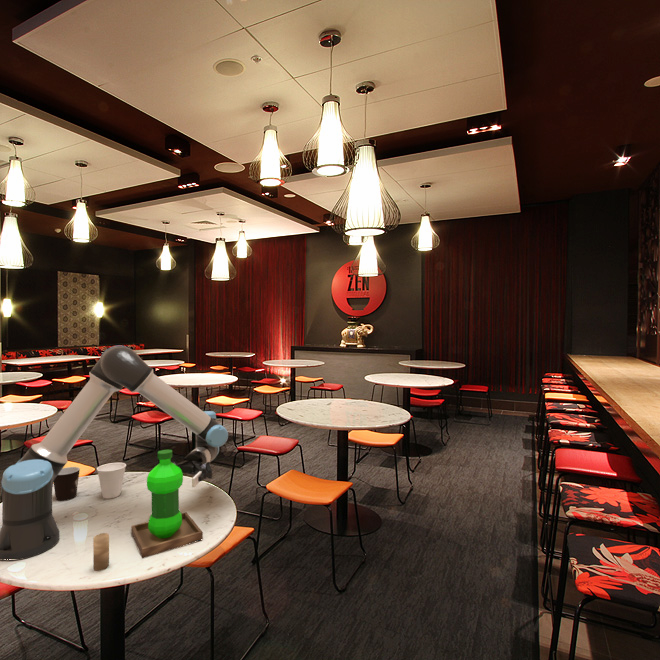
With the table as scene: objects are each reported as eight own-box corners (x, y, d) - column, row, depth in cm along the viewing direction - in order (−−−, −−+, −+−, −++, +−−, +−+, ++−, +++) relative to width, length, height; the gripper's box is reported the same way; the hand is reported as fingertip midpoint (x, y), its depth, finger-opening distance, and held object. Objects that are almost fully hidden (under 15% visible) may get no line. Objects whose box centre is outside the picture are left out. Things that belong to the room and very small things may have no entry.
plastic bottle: (153, 526, 129) (153, 447, 129) (187, 525, 129) (187, 446, 129) (141, 543, 119) (140, 457, 119) (178, 541, 119) (177, 456, 119)
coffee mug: (66, 503, 148) (66, 475, 148) (46, 501, 150) (46, 474, 150) (91, 490, 159) (91, 465, 159) (72, 489, 161) (72, 463, 161)
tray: (142, 558, 112) (142, 549, 112) (131, 533, 126) (131, 525, 126) (202, 540, 122) (202, 531, 122) (186, 519, 135) (186, 511, 135)
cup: (118, 488, 162) (118, 460, 162) (131, 494, 156) (131, 465, 156) (91, 496, 154) (91, 467, 154) (104, 503, 148) (104, 473, 148)
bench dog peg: (94, 572, 105) (94, 541, 105) (92, 565, 108) (92, 535, 108) (109, 567, 107) (109, 537, 107) (108, 561, 110) (108, 531, 110)
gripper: (230, 471, 147) (211, 495, 126) (162, 470, 148) (131, 494, 127) (230, 450, 147) (211, 471, 126) (162, 450, 148) (131, 470, 127)
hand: (171, 482), depth 126 cm, fingers open, 13 cm apart
